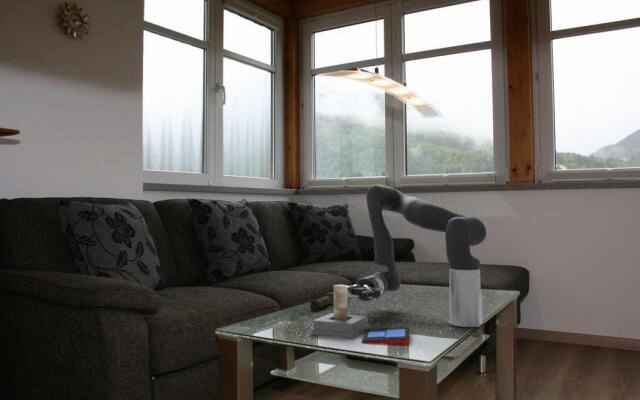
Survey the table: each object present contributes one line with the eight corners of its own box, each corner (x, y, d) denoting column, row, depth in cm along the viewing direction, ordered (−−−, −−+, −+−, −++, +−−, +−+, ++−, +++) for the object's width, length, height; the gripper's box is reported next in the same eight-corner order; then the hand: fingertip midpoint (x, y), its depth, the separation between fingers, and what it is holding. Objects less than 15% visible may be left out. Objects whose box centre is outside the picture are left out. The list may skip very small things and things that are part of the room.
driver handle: (349, 325, 155) (349, 285, 155) (344, 328, 151) (343, 287, 151) (337, 324, 156) (337, 284, 157) (331, 327, 153) (331, 286, 153)
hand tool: (319, 312, 185) (319, 298, 186) (309, 311, 187) (309, 298, 187) (340, 303, 203) (340, 291, 203) (331, 302, 204) (331, 290, 204)
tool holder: (369, 329, 157) (369, 315, 157) (352, 339, 145) (352, 324, 145) (330, 325, 162) (330, 312, 162) (311, 334, 151) (310, 320, 151)
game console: (366, 332, 154) (365, 325, 154) (409, 334, 152) (409, 326, 152) (361, 345, 140) (361, 336, 140) (409, 346, 138) (409, 338, 138)
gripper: (349, 275, 178) (329, 281, 163) (389, 277, 171) (372, 284, 157) (349, 297, 178) (329, 305, 163) (389, 300, 171) (372, 309, 157)
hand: (350, 295), depth 160 cm, fingers open, 8 cm apart
